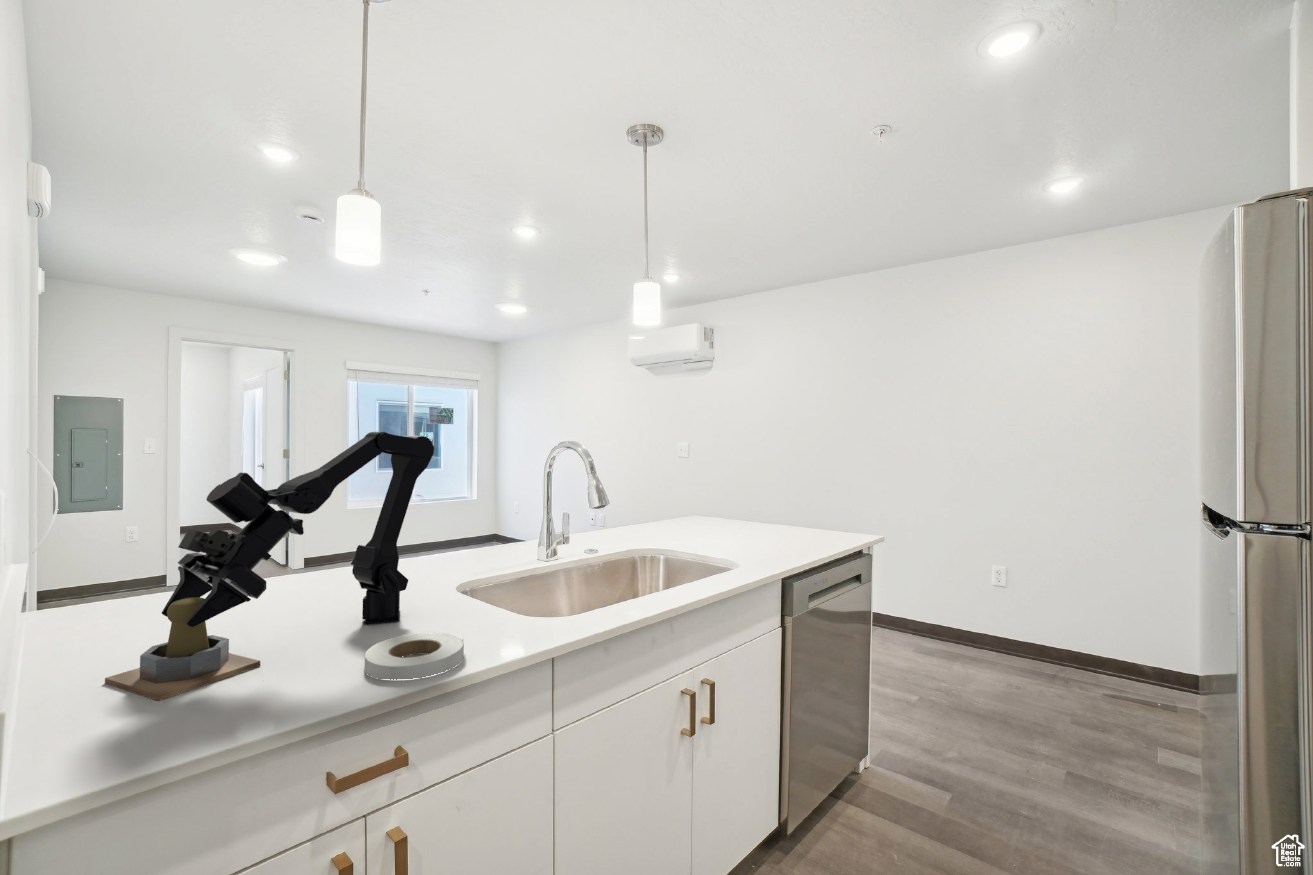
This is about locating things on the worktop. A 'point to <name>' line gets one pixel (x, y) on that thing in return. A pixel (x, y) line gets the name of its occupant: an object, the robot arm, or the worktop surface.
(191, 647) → the cork
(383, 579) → the robot arm
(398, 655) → the roll of tape
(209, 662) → the metal collar
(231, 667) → the walnut plate
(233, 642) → the worktop surface
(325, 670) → the worktop surface
